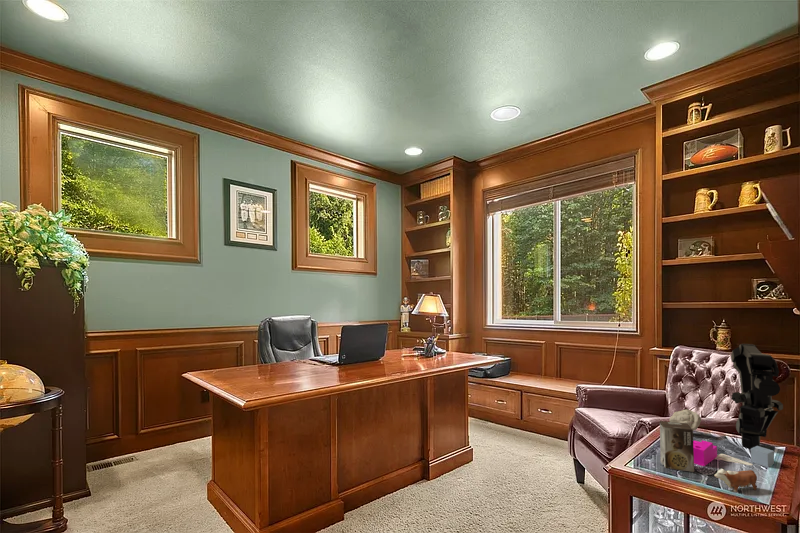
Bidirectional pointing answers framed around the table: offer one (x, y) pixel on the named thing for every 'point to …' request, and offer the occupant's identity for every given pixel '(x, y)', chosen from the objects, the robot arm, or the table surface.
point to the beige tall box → (676, 446)
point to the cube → (762, 456)
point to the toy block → (704, 452)
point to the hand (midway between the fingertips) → (761, 430)
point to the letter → (731, 459)
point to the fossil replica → (686, 418)
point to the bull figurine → (737, 478)
